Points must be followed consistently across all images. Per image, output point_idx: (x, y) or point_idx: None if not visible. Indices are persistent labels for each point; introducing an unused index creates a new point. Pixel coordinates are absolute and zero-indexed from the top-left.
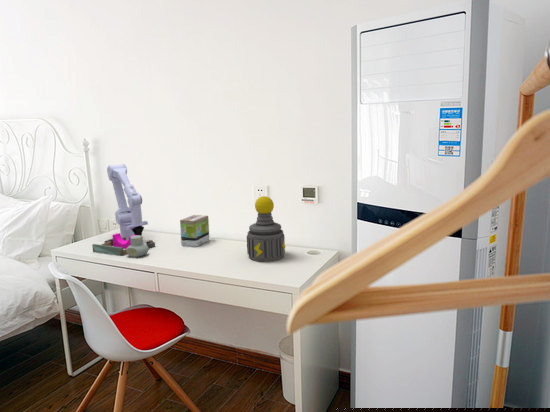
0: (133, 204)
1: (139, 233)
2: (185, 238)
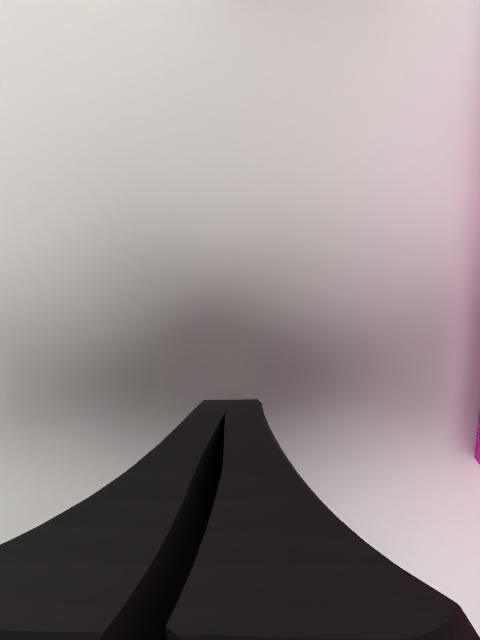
0: None
1: (254, 485)
2: None
